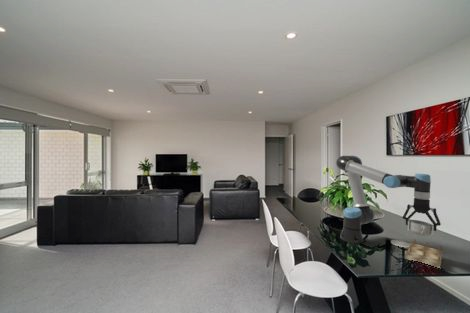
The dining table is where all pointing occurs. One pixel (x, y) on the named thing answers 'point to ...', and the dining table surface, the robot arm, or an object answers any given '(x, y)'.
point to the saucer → (400, 243)
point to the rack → (424, 254)
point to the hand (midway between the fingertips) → (420, 232)
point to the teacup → (420, 227)
